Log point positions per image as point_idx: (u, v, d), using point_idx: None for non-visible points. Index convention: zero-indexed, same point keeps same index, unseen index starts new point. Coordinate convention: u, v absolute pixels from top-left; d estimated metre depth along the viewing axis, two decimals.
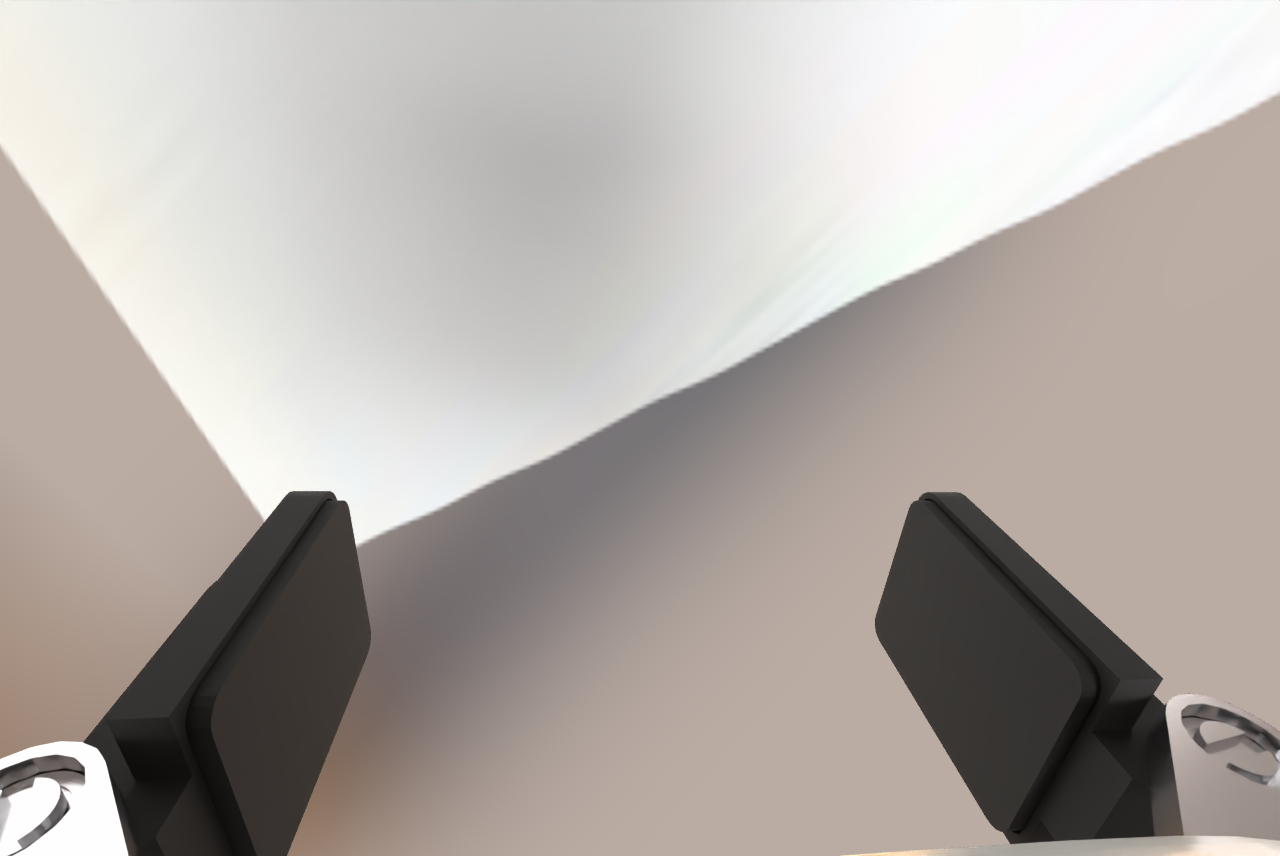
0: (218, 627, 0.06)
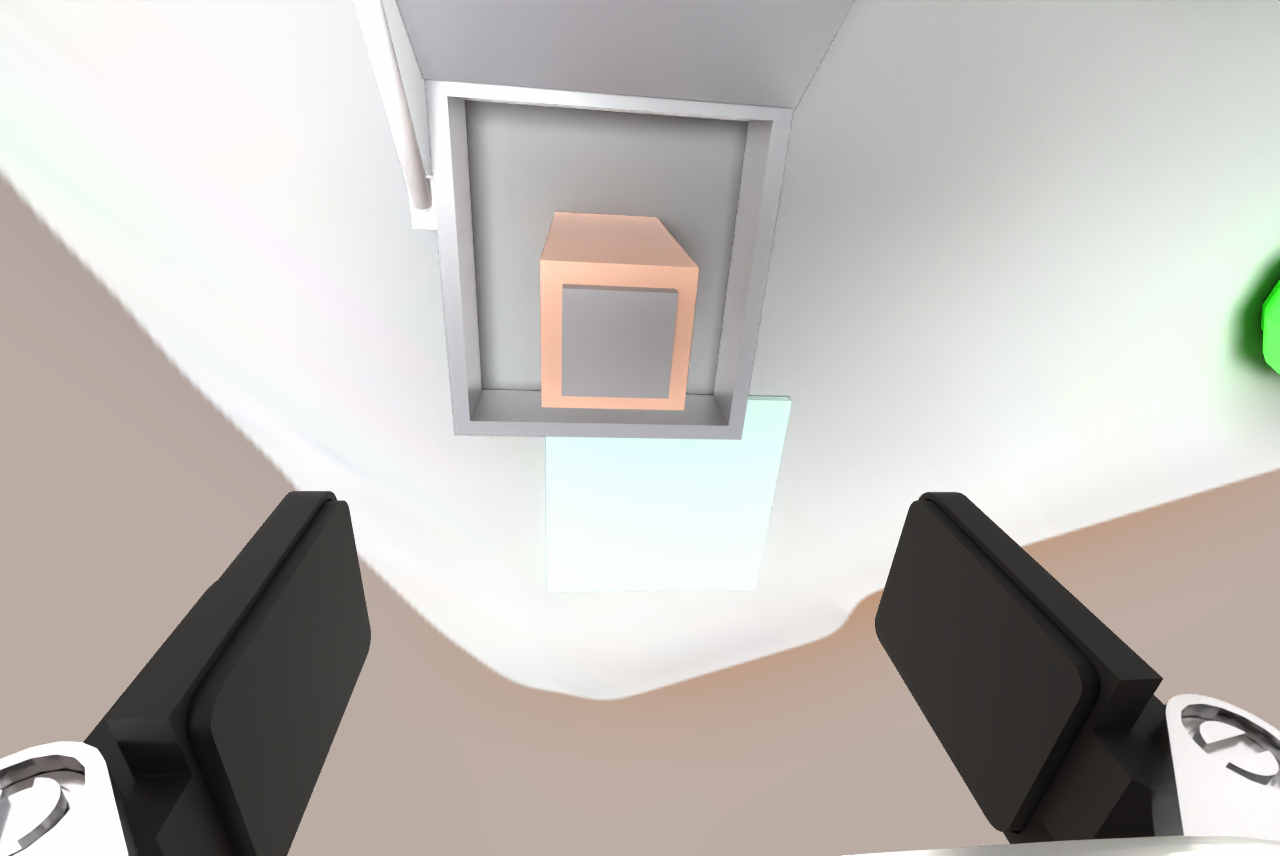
0: (218, 627, 0.06)
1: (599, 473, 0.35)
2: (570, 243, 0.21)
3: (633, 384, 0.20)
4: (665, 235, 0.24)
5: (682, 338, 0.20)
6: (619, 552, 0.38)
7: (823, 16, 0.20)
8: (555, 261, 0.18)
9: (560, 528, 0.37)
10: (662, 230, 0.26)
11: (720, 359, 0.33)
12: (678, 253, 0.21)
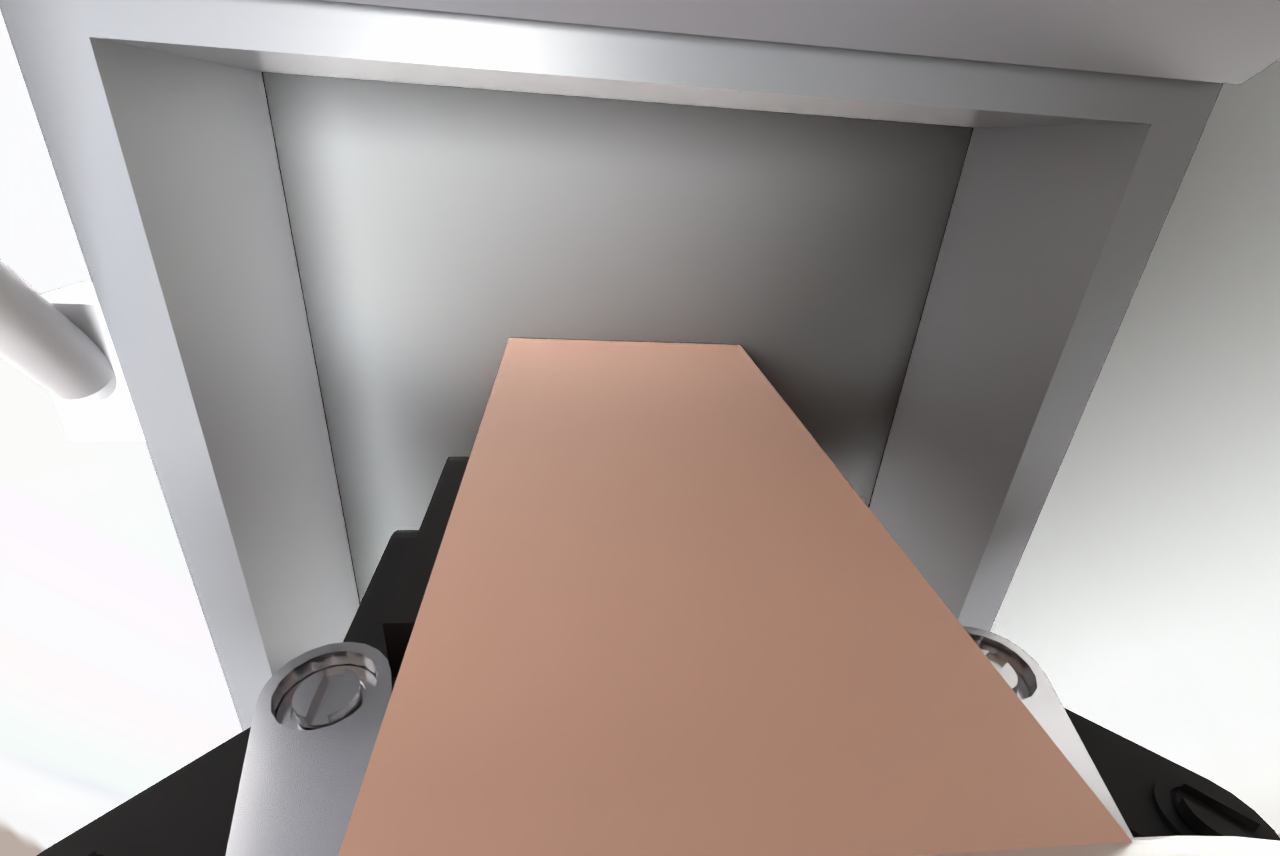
0: None
1: None
2: (511, 672, 0.05)
3: None
4: (826, 479, 0.08)
5: None
6: None
7: None
8: None
9: None
10: (795, 434, 0.09)
11: None
12: (1021, 754, 0.04)
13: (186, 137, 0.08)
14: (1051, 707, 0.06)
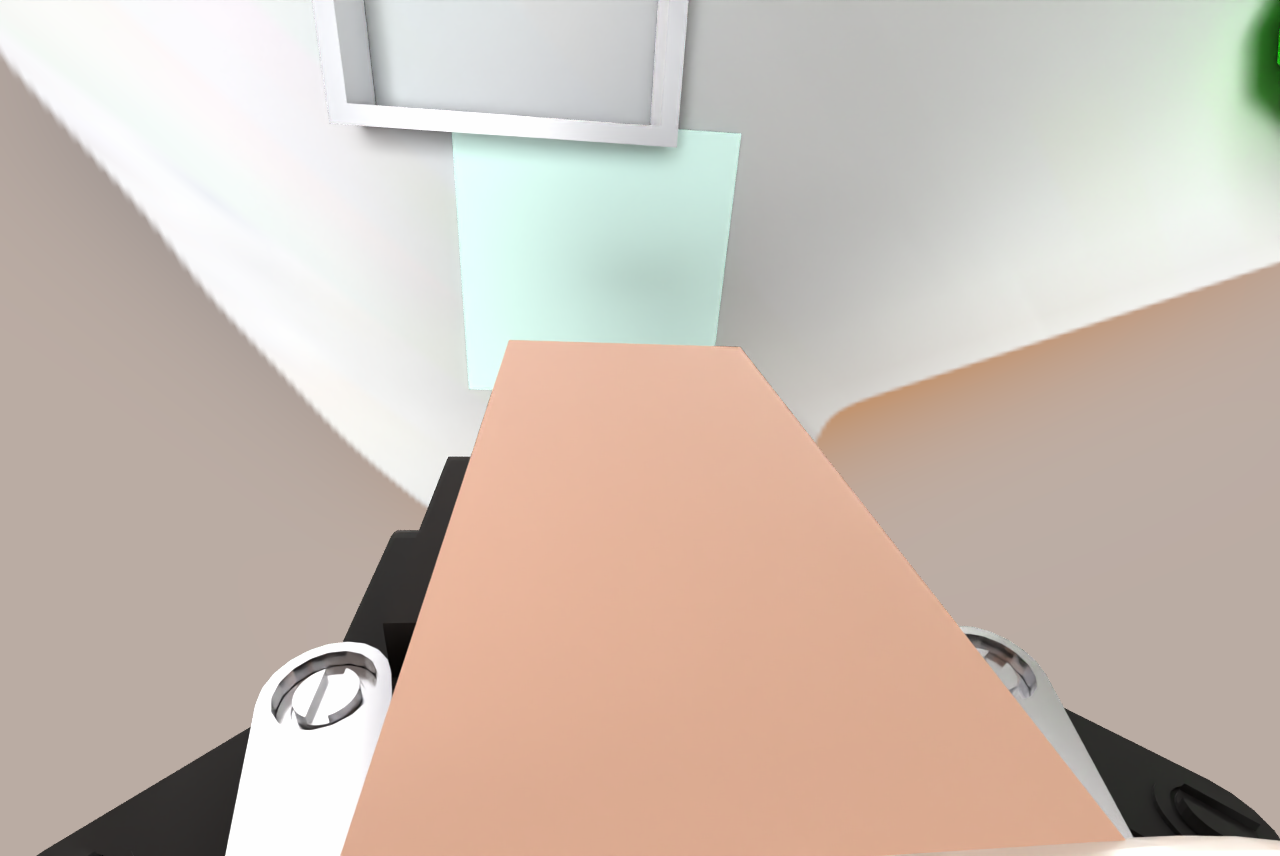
0: None
1: (520, 226, 0.30)
2: (511, 678, 0.05)
3: None
4: (825, 482, 0.08)
5: None
6: (549, 338, 0.33)
7: None
8: None
9: (479, 302, 0.32)
10: (795, 437, 0.09)
11: (655, 70, 0.28)
12: (1021, 760, 0.04)
13: None
14: (1051, 707, 0.06)
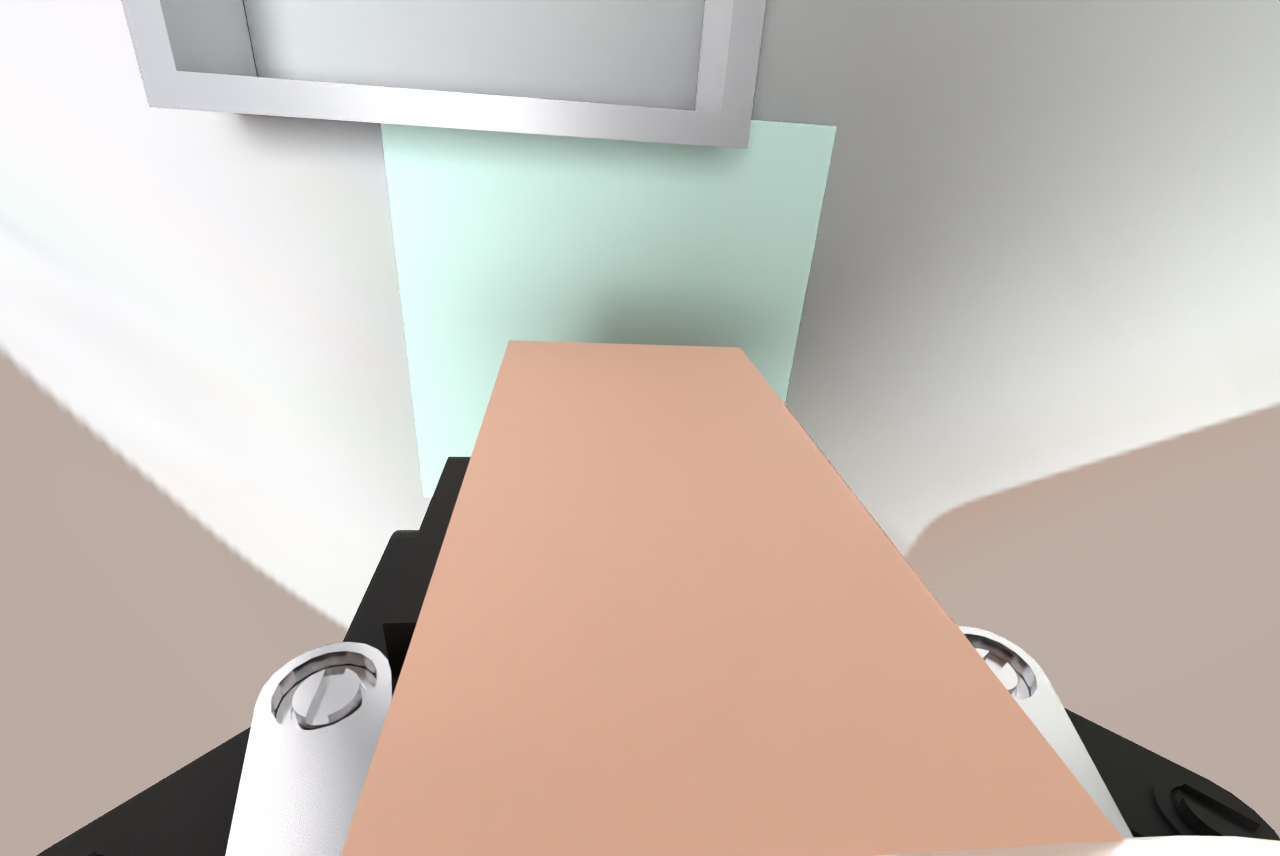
0: None
1: (494, 269, 0.20)
2: (511, 679, 0.05)
3: None
4: (825, 483, 0.08)
5: None
6: None
7: None
8: None
9: (434, 378, 0.21)
10: (795, 438, 0.09)
11: (706, 23, 0.17)
12: (1021, 762, 0.04)
13: None
14: (1051, 707, 0.06)
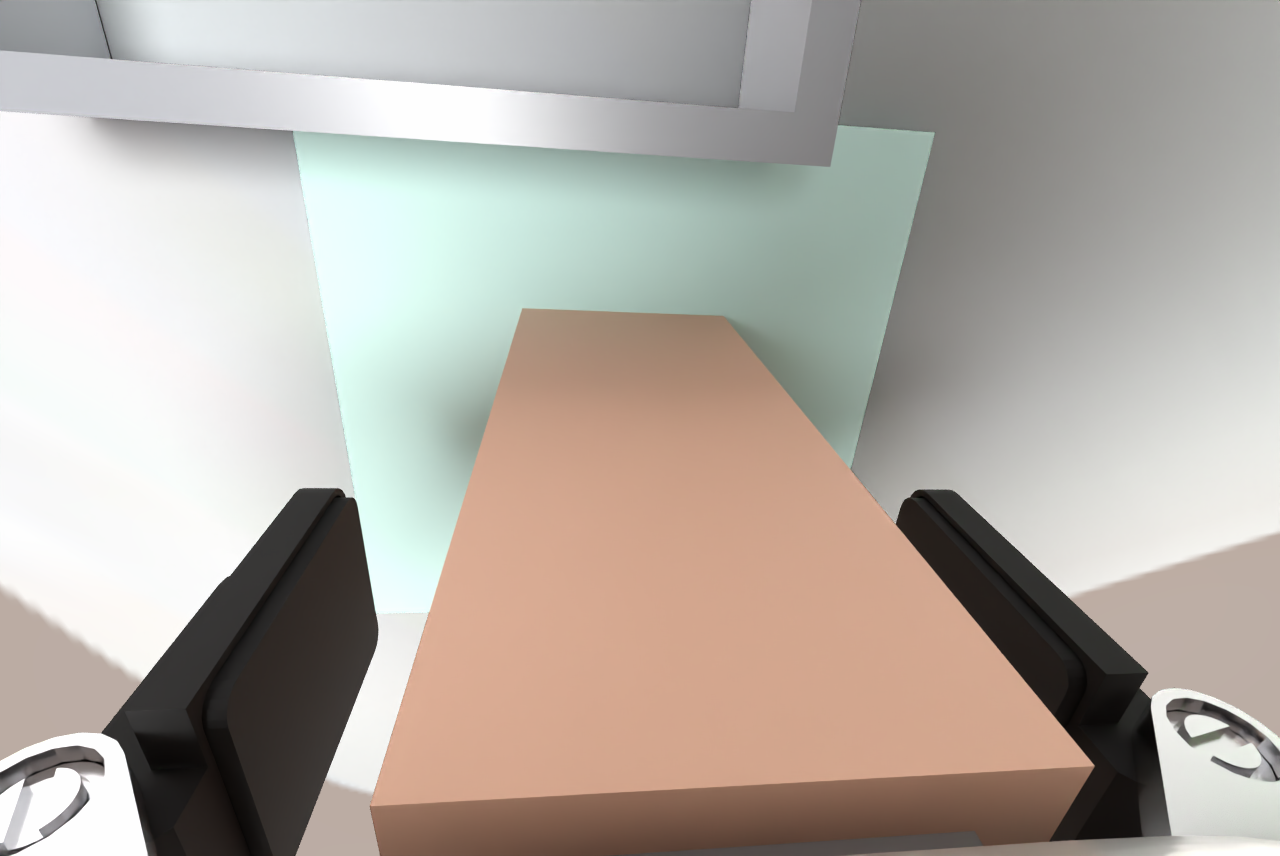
0: (232, 621, 0.06)
1: (460, 327, 0.14)
2: (539, 513, 0.07)
3: None
4: (784, 409, 0.10)
5: None
6: None
7: None
8: (448, 803, 0.04)
9: (383, 469, 0.16)
10: (763, 379, 0.11)
11: None
12: (897, 562, 0.06)
13: None
14: None
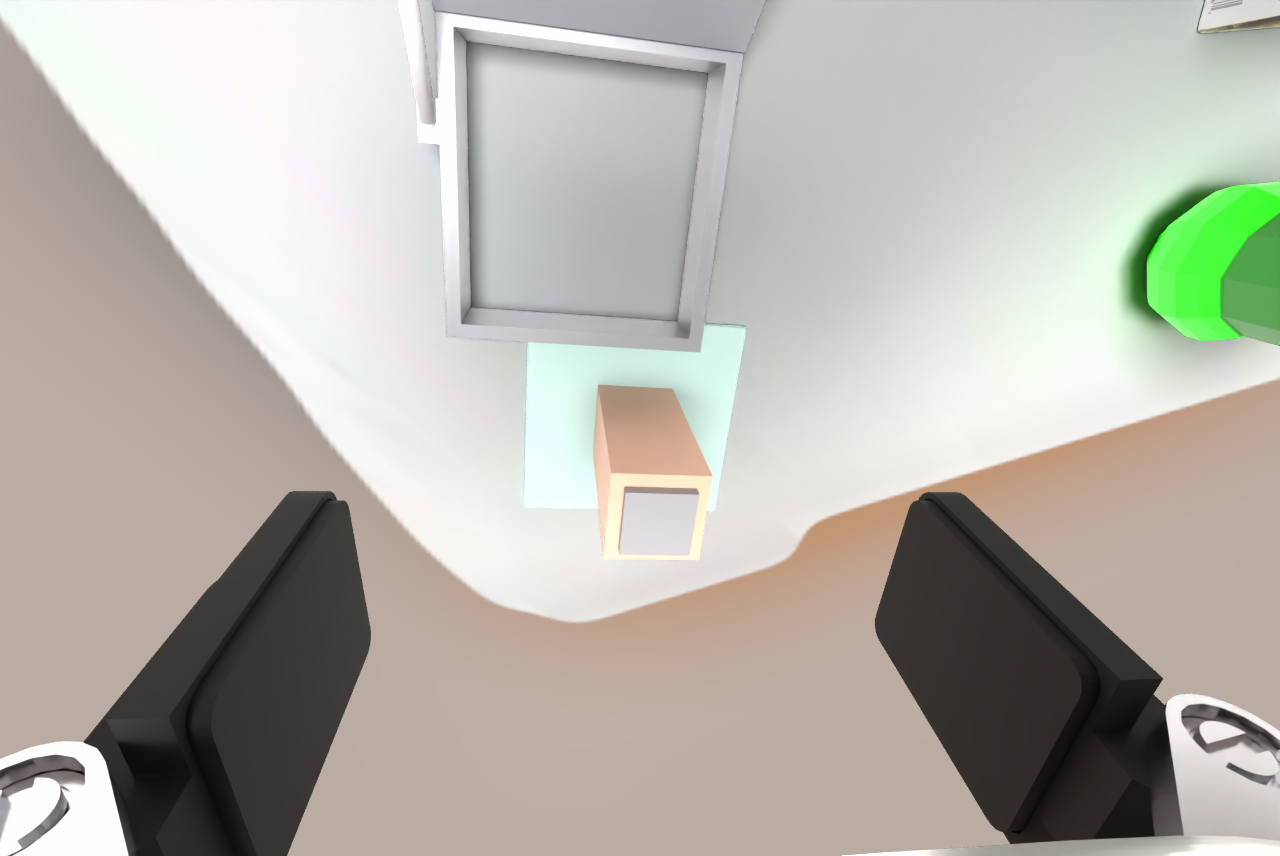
0: (218, 627, 0.06)
1: (574, 391, 0.39)
2: (623, 444, 0.31)
3: (667, 547, 0.30)
4: (683, 423, 0.35)
5: (700, 517, 0.30)
6: (591, 470, 0.42)
7: None
8: (621, 473, 0.28)
9: (538, 444, 0.40)
10: (680, 414, 0.36)
11: (683, 286, 0.37)
12: (696, 454, 0.31)
13: (458, 55, 0.29)
14: None
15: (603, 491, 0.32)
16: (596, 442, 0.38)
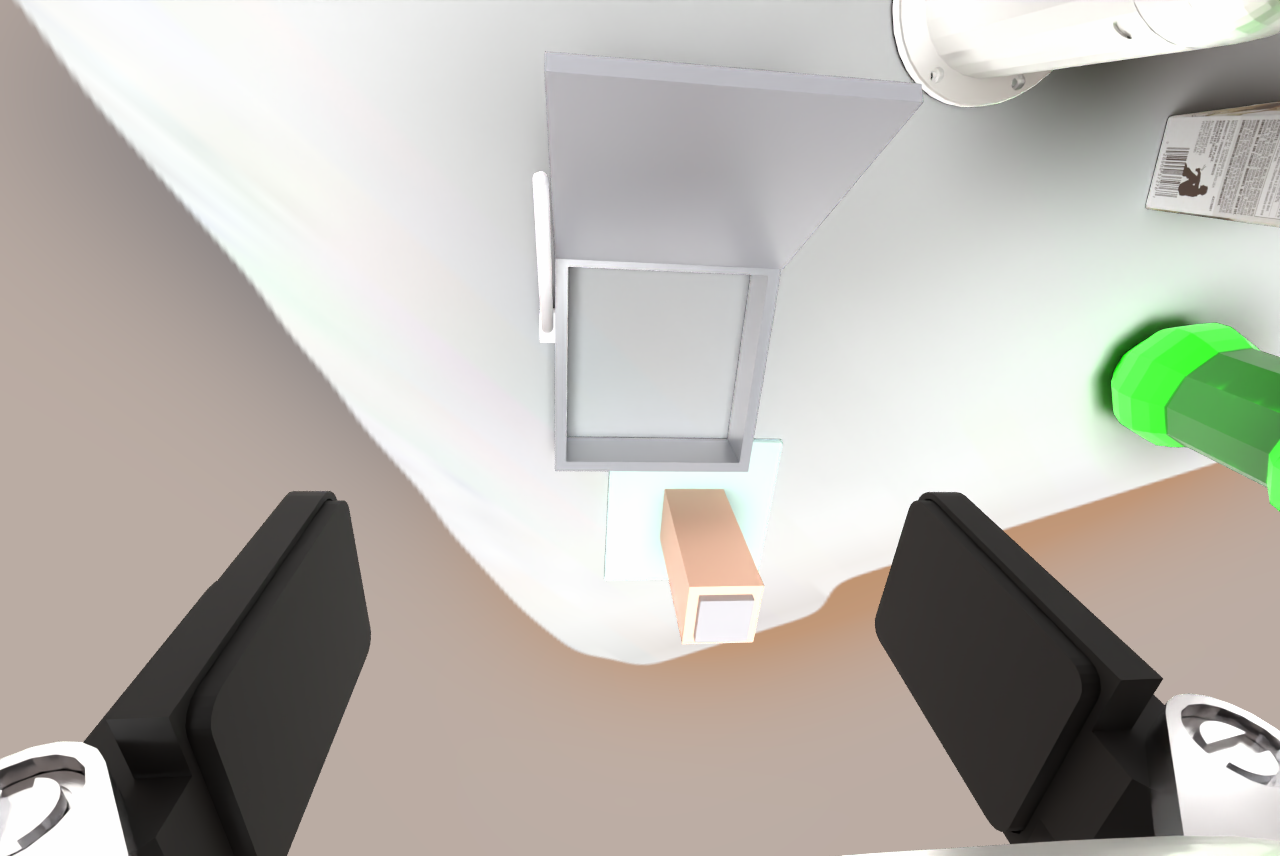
0: (218, 627, 0.06)
1: (646, 494, 0.49)
2: (694, 555, 0.42)
3: (730, 636, 0.40)
4: (736, 529, 0.45)
5: (754, 613, 0.40)
6: (658, 551, 0.52)
7: (797, 236, 0.34)
8: (696, 587, 0.39)
9: (616, 534, 0.51)
10: (733, 519, 0.46)
11: (732, 415, 0.47)
12: (750, 563, 0.41)
13: None
14: None
15: (679, 589, 0.42)
16: (665, 536, 0.49)
